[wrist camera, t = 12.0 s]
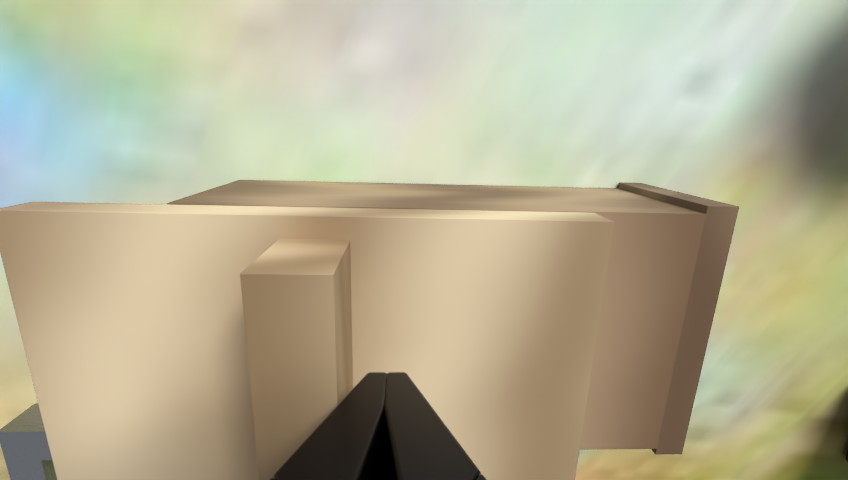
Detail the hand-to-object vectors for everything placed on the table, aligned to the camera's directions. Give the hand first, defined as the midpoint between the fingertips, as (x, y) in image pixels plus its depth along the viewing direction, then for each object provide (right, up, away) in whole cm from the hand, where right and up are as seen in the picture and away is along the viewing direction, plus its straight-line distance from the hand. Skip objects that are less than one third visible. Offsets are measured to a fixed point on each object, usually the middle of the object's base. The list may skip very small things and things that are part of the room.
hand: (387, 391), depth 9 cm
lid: (-2, 0, +2) cm, 3 cm away
